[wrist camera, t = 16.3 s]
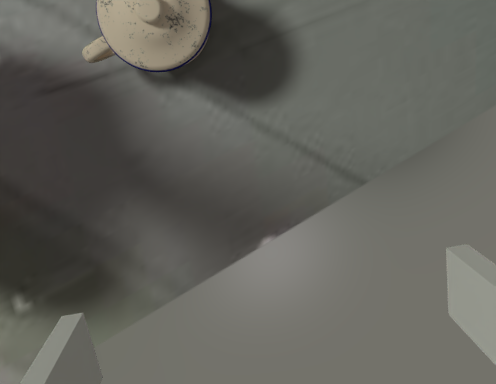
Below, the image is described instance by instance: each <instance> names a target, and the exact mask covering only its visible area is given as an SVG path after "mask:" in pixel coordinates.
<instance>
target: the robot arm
mask: <svg viewBox="0 0 496 384" xmlns="http://www.w3.org/2000/svg"><path fill="white" fill-rule="evenodd" d="M446 257H447V286H448V312H449V313H448V314H449V316H450V317H451V318H452V319H453V320H454V321H455V322H456V323H457V324H458V325H459V326H460V327H461V328H462V330H463V331H464V332H465V333H466V334H467V335H468V336H469V337H470V338H471V339H472V340H473V341H474V342H475V344H476V345H478V347H479V348H480V349H481V350H482V351H483V352H484V353H485V354H486V355H487V356H488V358H489V359H490V360H491V361H492V362H493V363H494V364H495V365H496V265H495V264H494V263H493V262H491V261H490V260H488V259H487V258H486V257H484V256H483V255H482V254H480V253H479V252H477V251H476V250H474V249H473V248H472V247H470V246H469V245H468V244H465V245H459V246H454V247H448V248H446ZM102 378H103V376H102V373H101V370H100V366H99V363H98V360H97V356H96V353H95V350H94V347H93V343H92V340H91V337H90V334H89V330H88V327H87V324H86V320H85V317H84V314H83V313H77V314H72V315H66V316H61V318H60V320H59V321H58V323H57V324H56V326H55V328H54V329H53V331H52V332H51V334H50V336H49V337H48V339H47V340H46V342H45V344H44V345H43V347H42V349H41V350H40V352H39V353H38V355H37V357H36V358H35V360H34V361H33V363H32V365H31V366H30V368H29V369H28V371H27V373H26V374H25V376H24V377H23V379H22V381H21V382H20V384H100V383H101V381H102Z"/></svg>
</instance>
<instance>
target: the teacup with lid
mask: <svg viewBox="0 0 496 384" xmlns="http://www.w3.org/2000/svg"><path fill="white" fill-rule="evenodd" d="M96 13H97V20H98V24H99V27H100V30H101V33H102V35H103V36H102V37H100V38H98V39H96V40H95V41H93V42H91V43H90V44H88V45H87V46H86V47H85V48H84V49H83V51H82V54H83V56H84V58H85V60H86V61H87V62H89V63H95V62H99V61H102V60H104V59H107V58H109V57H111V56H113V55H115V54H116V55H117V56H118V57H119V58H121V59H122V60H123V61H125V62H126V63H128V64H129V65H131V66H133V67H135V68H138V69H141V70H144V71H150V72H166V71H171V70H174V69H177V68H179V67H182V66H184V65H186V64H188V63H189V62H191V61H192V60H194V59H195V58H196V57H197V56H198V55H199V54H200V53H201V51H202V50H203V48H204V47H205V45H206V42H207V40H208V37H209V32H210V27H211V18H212V12H211V3H210V0H97V2H96Z"/></svg>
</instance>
